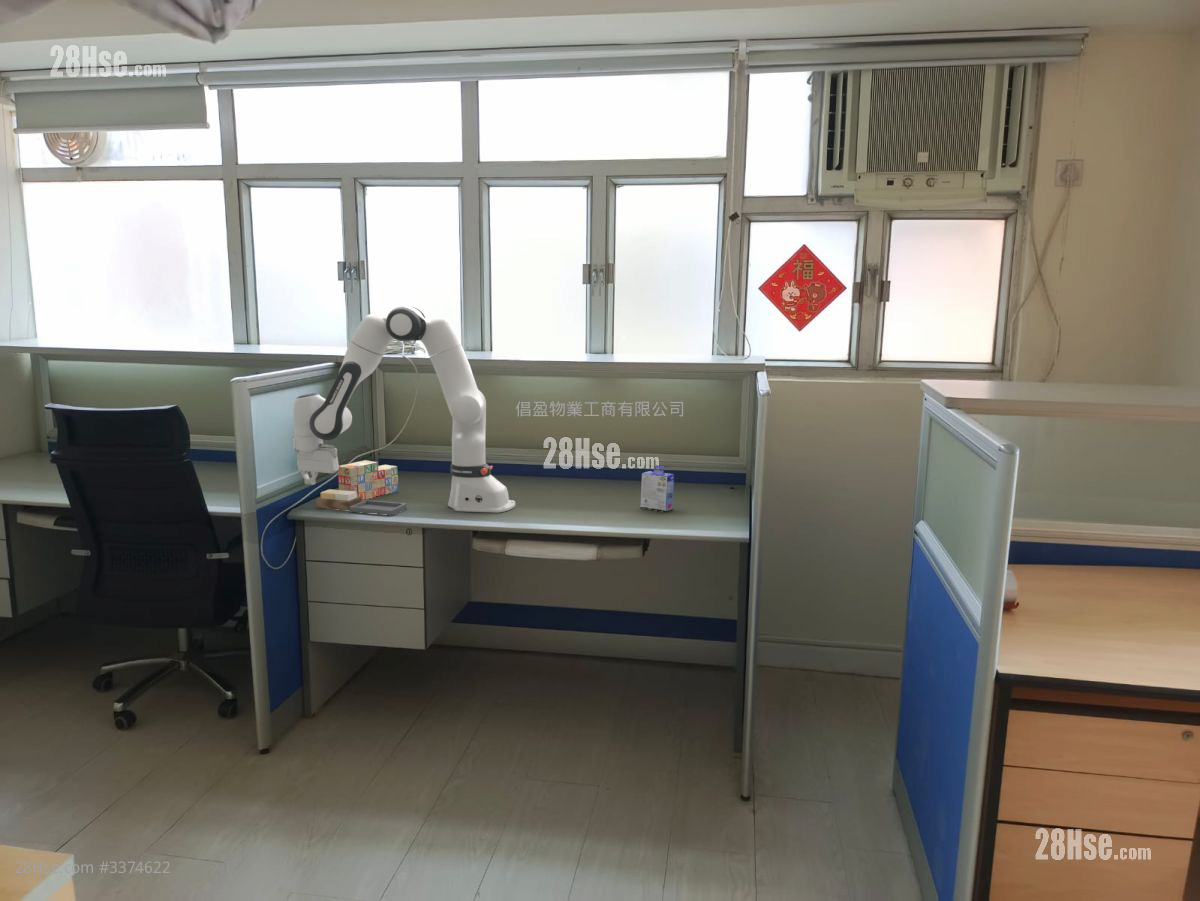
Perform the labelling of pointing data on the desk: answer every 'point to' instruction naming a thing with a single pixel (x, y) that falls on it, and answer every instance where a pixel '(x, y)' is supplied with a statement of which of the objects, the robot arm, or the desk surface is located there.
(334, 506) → the walnut ledge
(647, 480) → the ink cartridge box
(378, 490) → the stack of blocks
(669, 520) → the desk surface
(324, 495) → the ochre tile
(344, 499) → the cream tile
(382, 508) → the tray
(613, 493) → the desk surface
